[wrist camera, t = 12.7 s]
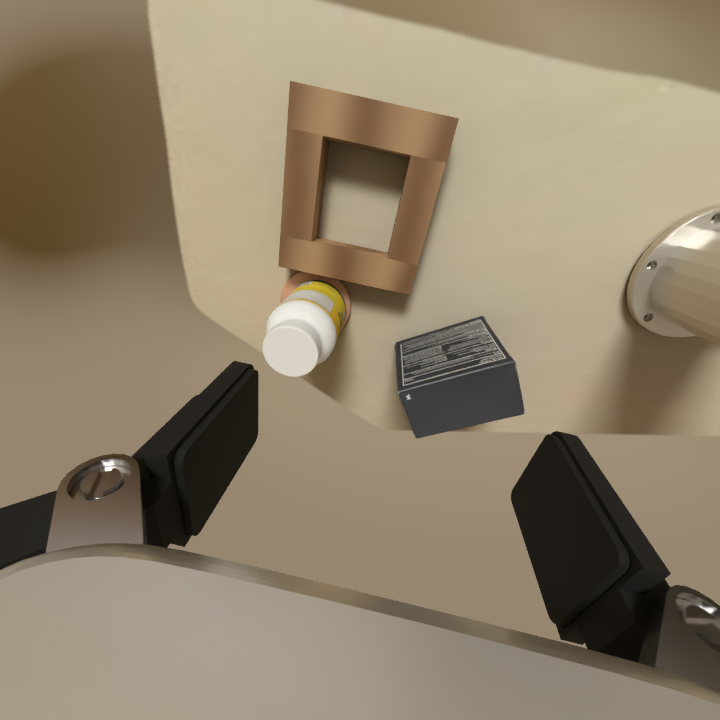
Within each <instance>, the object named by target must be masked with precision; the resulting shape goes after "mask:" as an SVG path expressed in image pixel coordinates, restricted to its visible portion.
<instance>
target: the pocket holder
mask: <svg viewBox="0 0 720 720" xmlns="http://www.w3.org/2000/svg"><path fill="white" fill-rule="evenodd" d="M457 123H458V118H454V117H449V116H445V115H440V114H436V113H431V112H427V111H422V110H418V109H413V108H409V107H404V106H400V105H395V104H391V103H386V102H382V101H378V100H373V99H369V98H364V97H360V96H355V95H351V94H346V93H342V92H337V91H333V90H328V89H324V88H319V87H315V86H310V85H306V84H301V83H297V82H292V81H290V92H289V108H288V124H287V139H286V155H285V171H284V187H283V203H282V219H281V235H280V251H279V266H280V267H284V268H289V269H293V270H298V271H302V272H307V273H312V274H316V275H321V276H325V277H330V278H334V279H339V280H344V281H348V282H353V283H357V284H362V285H366V286H371V287H376V288H380V289H385V290H389V291H394V292H398V293H403V294H408V295H410V292H411V288H412V284H413V281H414V277H415V274H416V270H417V267H418V263H419V259H420V256H421V252H422V249H423V245H424V241H425V238H426V234H427V231H428V227H429V223H430V220H431V216H432V213H433V209H434V205H435V202H436V198H437V195H438V191H439V188H440V184H441V180H442V177H443V173H444V170H445V166H446V162H447V159H448V155H449V152H450V148H451V144H452V141H453V137H454V134H455V130H456V126H457ZM329 140H330V141H335V142H339V143H344V144H348V145H353V146H357V147H362V148H366V149H371V150H375V151H380V152H384V153H389V154H393V155H398V156H402V157H407V158H410V159H409V163H408V167H407V172H406V176H405V181H404V185H403V189H402V194H401V198H400V203H399V207H398V211H397V216H396V220H395V224H394V229H393V233H392V238H391V242H390V246H389V251H388V253H386V252H381V251H377V250H372V249H368V248H363V247H359V246H354V245H350V244H345V243H341V242H336V241H331V240H327V239H322V238H318V232H319V223H320V215H321V206H322V198H323V189H324V181H325V172H326V164H327V156H328V147H329Z"/></svg>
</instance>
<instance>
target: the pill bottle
mask: <svg viewBox="0 0 720 720" xmlns="http://www.w3.org/2000/svg"><path fill="white" fill-rule="evenodd" d="M345 316H346V304H345V300H344V298H343V296H342V294H341V293H340V291H339V290H338V289H337V288H336V287H335V286H333V285H332V284H330V283H328V282H325V281H322V280H309V281H306V282H304V283H302V284H300V285H299V286H298V287H296V288H295V289H294V290H293V292H292V293H291V294H290V295H289V296H288V297H287V298H286V299H285V300H284V301H283V302H282V303H281V304H280V305H279V306H278V307H277V308H276V309H275V310H274V311H273V312H272V314H271V315H270V317H269V319H268V321H267V325H266V337H265V339H264V342H263V354H264V357H265V359H266V361H267V362H268V364H269V365H270V366H271V367H272V368H273V369H274V370H275V371H277V372H279V373H281V374H283V375H286V376H291V377H299V376H303V375H306V374H308V373H309V372H311V371H312V370H313V369H314V368H315V366H316V365H318V364H320V363H322V362H323V361H325V360H326V359H327V358H328V357H329V356H330V354H331V353H332V351H333V349H334V347H335V344H336V341H337V338H338V336H339V333H340V330H341V328H342V325H343V322H344V319H345Z"/></svg>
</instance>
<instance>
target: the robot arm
mask: <svg viewBox="0 0 720 720" xmlns="http://www.w3.org/2000/svg"><path fill="white" fill-rule="evenodd" d="M627 304H628V308H629V311H630V313H631V315H632V317H633V318H634V319H635V320H636V321H637V322H638V323H639V325H641V326H643V327H644V328H646V329H647V330H649V331H651V332H653V333H656V334H658V335H662V336H666V337H677V338H683V337H692V336H699V337H701V338H703V339H705V340H707V341H709V342H712V343H714V344H716V345H718V346H720V206H715V207H712V208H709V209H706V210H703V211H700V212H697V213H695V214H693V215H691V216H689V217H687V218H685V219H683V220H681V221H680V222H678V223H677V224H675V225H674V226H672V227H671V228H669V229H668V230H666V231H665V232H664V233H663V234H662V235H661V236H659V237H658V238H657V239H656V240H655V241H654V242H653V243H652V244H651V245H650V246H649V247H648V249H647V250H646V251H645V252H644V253H643V255H642V256H641V258H640V259H639V261H638V262H637V264H636V265H635V268H634V270H633V272H632V274H631V276H630V279H629V283H628V287H627ZM257 436H258V371H257V370H254V368H253V366H252V365H251V364H246V363H241V362H237V361H234V362H232V363H231V364H230V365H229V366H228V367H227V368H226V369H225V370H224V371H223V372H222V373H221V374H220V375H219V376H218V377H217V378H216V379H215V380H214V381H213V382H212V383H211V384H210V385H209V386H208V387H207V388H206V389H204V390H203V392H202V393H201V394H199V395H196V396H195V397H193V398H192V399H191V400H190V401H189V402H188V403H187V404H186V405H185V406H184V407H183V408H182V409H181V410H180V411H178V412H177V413H176V414H175V415H174V416H173V417H172V418H171V419H170V420H169V421H168V422H167V423H166V424H165V425H164V426H163V427H162V428H161V429H160V430H159V431H158V432H157V433H156V434H155V435H154V436H152V438H150V440H148V441H147V442H146V443H145V444H144V445H143V446H142V447H141V448H140V449H139V450H138V451H137V452H136V453H135V454H134V455H133V456H132V457H131V456H128V455H124V454H109V455H102V456H99V457H96V458H93V459H90V460H88V461H86V462H84V463H82V464H80V465H78V466H77V467H75V468H74V469H73V470H71V471H70V472H69V473H68V474H67V475H66V476H65V477H64V478H63V480H62V481H61V482H60V485H59V487H58V489H57V491H54V492H50V493H47V494H44V495H41V496H38V497H35V498H31V499H28V500H25V501H22V502H19V503H16V504H13V505H9V506H7V507H3V508H0V720H720V606H719V605H718V604H717V603H715V602H714V601H713V600H711V599H710V598H708V597H706V596H705V595H703V594H701V593H700V592H698V591H696V590H693V589H691V588H689V587H687V586H680V585H675V586H672V587H670V586H669V585H668V583H667V582H666V580H665V578H666V577H667V576H669V575H670V572H669V571H668V569H667V568H666V566H665V565H664V563H663V562H662V560H661V559H660V557H659V556H658V554H657V553H656V552H655V550H654V548H653V547H652V545H651V544H650V542H649V541H648V539H647V538H646V536H645V535H644V534H643V532H642V530H641V529H640V528H639V526H638V525H637V523H636V522H635V520H634V519H633V517H632V516H631V514H630V513H629V511H628V510H627V508H626V507H625V505H624V504H623V503H622V501H621V499H620V498H619V497H618V495H617V494H616V492H615V491H614V489H613V488H612V486H611V485H610V483H609V482H608V480H607V479H606V478H605V476H604V474H603V473H602V471H601V470H600V468H599V467H598V466H597V464H596V462H595V461H594V460H593V458H592V457H591V455H590V454H589V452H588V451H587V449H586V448H585V446H584V445H583V443H582V442H581V440H580V439H579V438H578V437H577V436H575V435H571V434H567V433H562V432H558V431H556V432H553V433H552V434H551V435H547V436H545V438H544V440H543V441H542V443H541V444H540V446H539V447H538V449H537V451H536V452H535V454H534V456H533V457H532V459H531V460H530V462H529V464H528V466H527V467H526V469H525V470H524V472H523V474H522V475H521V477H520V478H519V480H518V482H517V483H516V485H515V487H514V488H513V490H512V493H511V501H512V504H513V507H514V510H515V514H516V516H517V520H518V522H519V526H520V529H521V532H522V535H523V538H524V541H525V544H526V547H527V551H528V554H529V557H530V559H531V563H532V566H533V569H534V572H535V575H536V578H537V581H538V584H539V588H540V591H541V594H542V597H543V600H544V603H545V606H546V609H547V612H548V615H549V618H550V619H551V621H552V622H553V623H555V624H556V626H557V629H558V632H559V635H560V638H561V640H565V641H569V642H573V643H578V644H582V645H583V644H584V643H585V644H586V646H587V649H585V648H582V647H578V646H574V645H570V644H566V643H563V642H559V641H555V640H550V639H547V638H543V637H538V636H534V635H531V634H527V633H523V632H519V631H515V630H511V629H507V628H503V627H499V626H495V625H491V624H487V623H483V622H479V621H475V620H471V619H467V618H463V617H459V616H455V615H451V614H447V613H443V612H439V611H435V610H431V609H426V608H423V607H419V606H415V605H410V604H407V603H402V602H399V601H394V600H390V599H386V598H382V597H378V596H374V595H370V594H366V593H361V592H358V591H354V590H350V589H346V588H341V587H337V586H333V585H329V584H325V583H321V582H317V581H312V580H308V579H304V578H300V577H296V576H292V575H287V574H283V573H279V572H275V571H271V570H267V569H262V568H258V567H254V566H250V565H246V564H241V563H237V562H232V561H227V560H223V559H219V558H214V557H209V556H205V555H200V554H196V553H191V552H186V551H182V550H176V549H170V548H167V547H168V546H169V544H170V543H172V544H175V545H179V546H184V547H185V545H186V544H187V542H188V541H189V539H190V537H191V536H192V535H194V536H196V535H198V534H199V533H200V531H201V530H202V528H203V527H204V525H205V523H206V521H207V520H208V518H209V517H210V515H211V514H212V512H213V510H214V509H215V507H216V505H217V504H218V502H219V500H220V499H221V497H222V496H223V494H224V492H225V491H226V489H227V487H228V486H229V484H230V482H231V481H232V479H233V478H234V476H235V474H236V473H237V471H238V469H239V468H240V466H241V464H242V463H243V461H244V460H245V458H246V456H247V455H248V453H249V451H250V450H251V448H252V447H253V445H254V443H255V441H256V439H257Z"/></svg>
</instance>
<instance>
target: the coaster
mask: <svg viewBox="0 0 720 720" xmlns="http://www.w3.org/2000/svg"><path fill="white" fill-rule="evenodd" d="M309 280H322V281H325V282H328V283H330V284H332V285H333V286H335V287H336V288H337V289H338V290H339V291H340V293H341V294H342V296H343V298H344V300H345V304H346V316H345V319H344V322H343V325H342V328H343V327H344V325H345V324H346V322H347V320H348V318H349V315H350V309H351V302H350V297H349V294H348V292H347V289H346V288H345V286H344V285H343V283H342V282H341V281H340V280H339V279H334V278H330V277H325V276H321V275H316V274H312V273H307V272H302V271H301V272H299V273H297V274H295V275H294V276H293V277H292V278H290V279H289V280H288V282H287V283H286V284H285V286H284V288H283V291H282V294H281V303H282V302H283V301H284V300H285V299H286V298H287V297H288V296H289V295H290V294H291V293H292V292H293V290H294V289H295V288H296V287H298V286H299V285H300V284H302V283H304V282H306V281H309ZM342 328H341V329H342Z"/></svg>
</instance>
